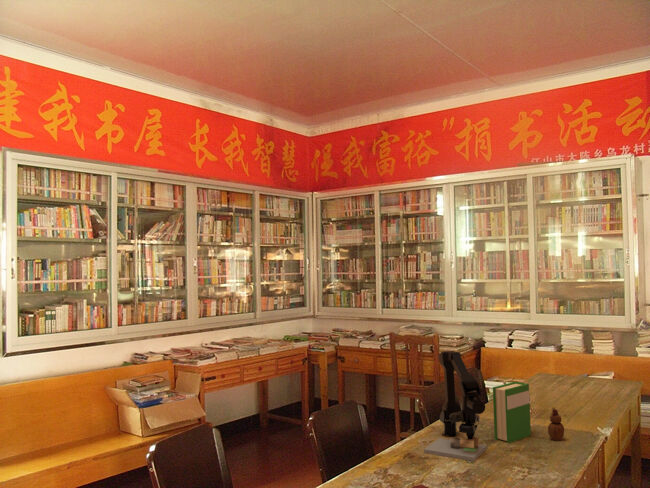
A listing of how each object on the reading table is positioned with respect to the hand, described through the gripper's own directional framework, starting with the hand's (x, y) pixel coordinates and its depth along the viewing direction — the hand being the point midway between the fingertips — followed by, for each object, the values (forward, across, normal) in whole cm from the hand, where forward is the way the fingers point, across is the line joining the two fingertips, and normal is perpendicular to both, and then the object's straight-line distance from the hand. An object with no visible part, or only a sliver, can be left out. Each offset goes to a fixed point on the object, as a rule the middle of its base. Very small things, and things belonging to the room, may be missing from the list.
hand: (469, 442), depth 245 cm
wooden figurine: (+4, -27, +35) cm, 44 cm away
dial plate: (+3, +3, -6) cm, 7 cm away
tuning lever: (+1, +3, -2) cm, 3 cm away
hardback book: (+4, -24, +16) cm, 29 cm away
